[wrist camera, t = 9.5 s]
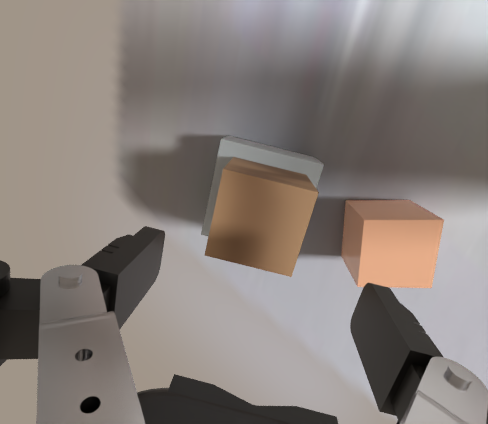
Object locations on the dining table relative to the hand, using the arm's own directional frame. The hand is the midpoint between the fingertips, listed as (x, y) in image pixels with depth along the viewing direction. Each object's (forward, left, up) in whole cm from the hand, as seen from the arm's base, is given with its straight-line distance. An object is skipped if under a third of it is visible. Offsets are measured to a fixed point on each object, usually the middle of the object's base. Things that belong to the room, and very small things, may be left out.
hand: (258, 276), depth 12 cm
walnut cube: (0, 0, -10) cm, 10 cm away
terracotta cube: (-10, +1, -14) cm, 17 cm away
